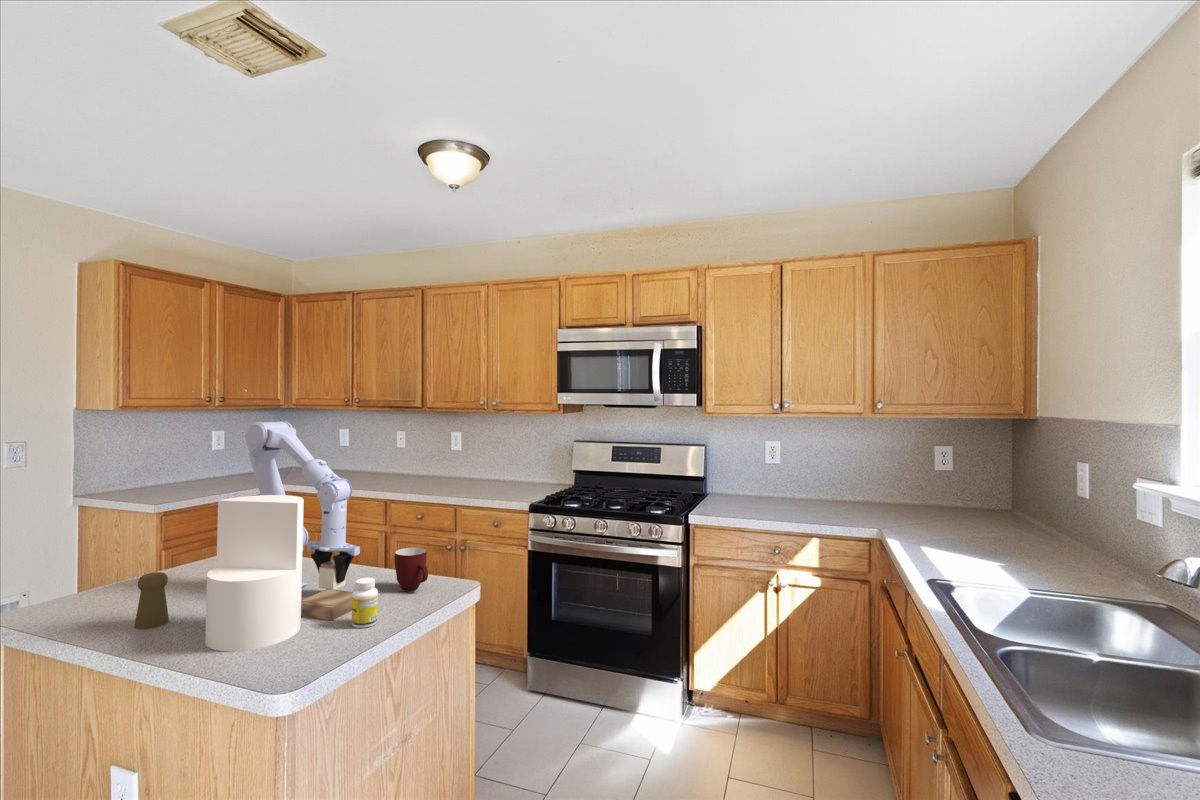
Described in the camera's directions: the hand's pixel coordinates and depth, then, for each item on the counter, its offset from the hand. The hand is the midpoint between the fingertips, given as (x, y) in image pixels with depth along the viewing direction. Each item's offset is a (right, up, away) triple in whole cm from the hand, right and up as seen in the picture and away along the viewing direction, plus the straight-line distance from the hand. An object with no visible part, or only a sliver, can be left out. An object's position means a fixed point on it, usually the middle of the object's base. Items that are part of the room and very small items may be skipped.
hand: (332, 580), depth 145 cm
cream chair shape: (-5, -4, -24) cm, 25 cm away
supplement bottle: (+16, -4, -18) cm, 24 cm away
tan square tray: (+4, -4, -11) cm, 12 cm away
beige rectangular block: (0, -2, 0) cm, 2 cm away
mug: (+19, -4, +5) cm, 20 cm away
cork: (-30, -3, -21) cm, 36 cm away
